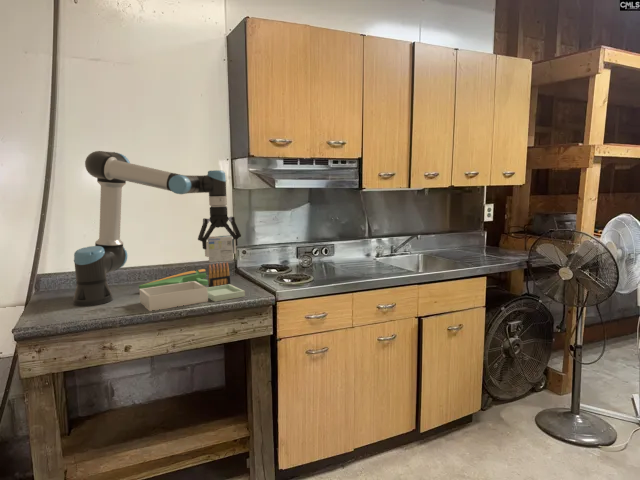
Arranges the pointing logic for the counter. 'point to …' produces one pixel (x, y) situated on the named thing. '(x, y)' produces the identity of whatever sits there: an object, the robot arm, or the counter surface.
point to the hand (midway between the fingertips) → (220, 254)
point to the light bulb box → (220, 248)
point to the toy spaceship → (179, 279)
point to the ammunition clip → (219, 275)
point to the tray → (224, 292)
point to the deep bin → (173, 295)
